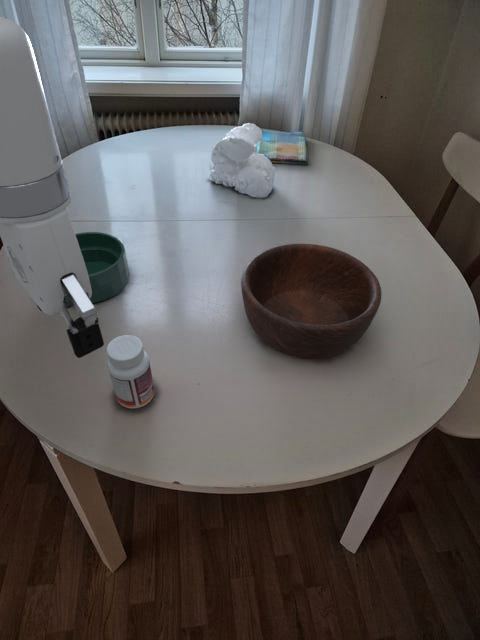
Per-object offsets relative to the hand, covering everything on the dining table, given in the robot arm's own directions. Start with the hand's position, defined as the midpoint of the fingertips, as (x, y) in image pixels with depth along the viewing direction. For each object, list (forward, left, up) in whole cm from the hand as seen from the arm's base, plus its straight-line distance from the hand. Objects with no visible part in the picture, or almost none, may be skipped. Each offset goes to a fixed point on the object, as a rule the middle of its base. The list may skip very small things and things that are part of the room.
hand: (70, 326), depth 50 cm
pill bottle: (+6, +6, -22) cm, 24 cm away
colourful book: (+72, +91, -22) cm, 118 cm away
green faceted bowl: (+3, +39, -22) cm, 45 cm away
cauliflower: (+50, +71, -22) cm, 89 cm away
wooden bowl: (+40, +12, -22) cm, 47 cm away
